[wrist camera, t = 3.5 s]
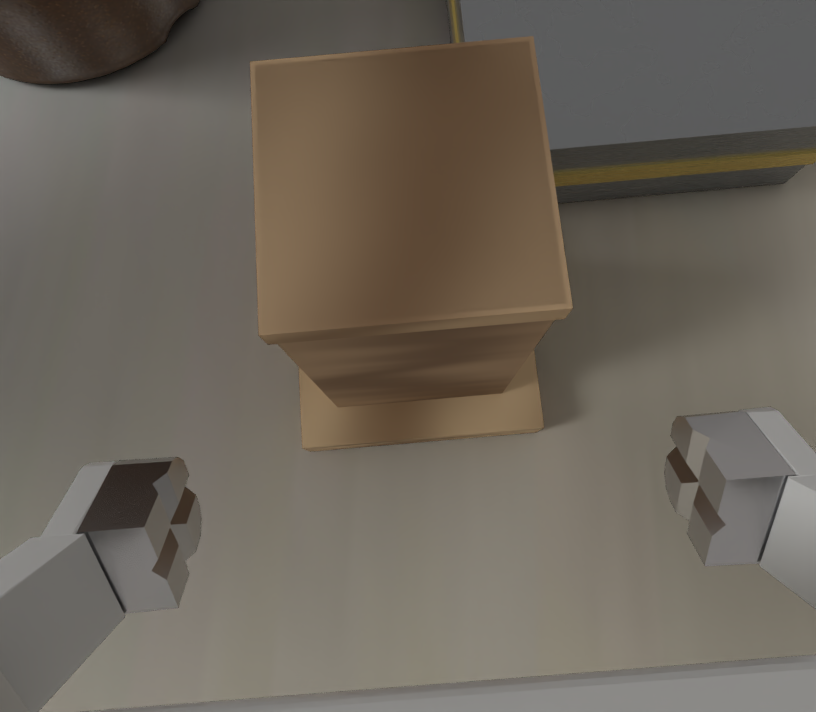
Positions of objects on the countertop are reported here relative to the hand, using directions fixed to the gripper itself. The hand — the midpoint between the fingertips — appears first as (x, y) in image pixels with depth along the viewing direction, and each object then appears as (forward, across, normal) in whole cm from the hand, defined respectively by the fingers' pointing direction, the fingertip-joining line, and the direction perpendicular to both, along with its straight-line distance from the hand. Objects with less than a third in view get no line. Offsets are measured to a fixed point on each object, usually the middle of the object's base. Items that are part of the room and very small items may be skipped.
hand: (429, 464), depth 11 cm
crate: (+11, 0, +3) cm, 12 cm away
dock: (+20, -8, -3) cm, 22 cm away
